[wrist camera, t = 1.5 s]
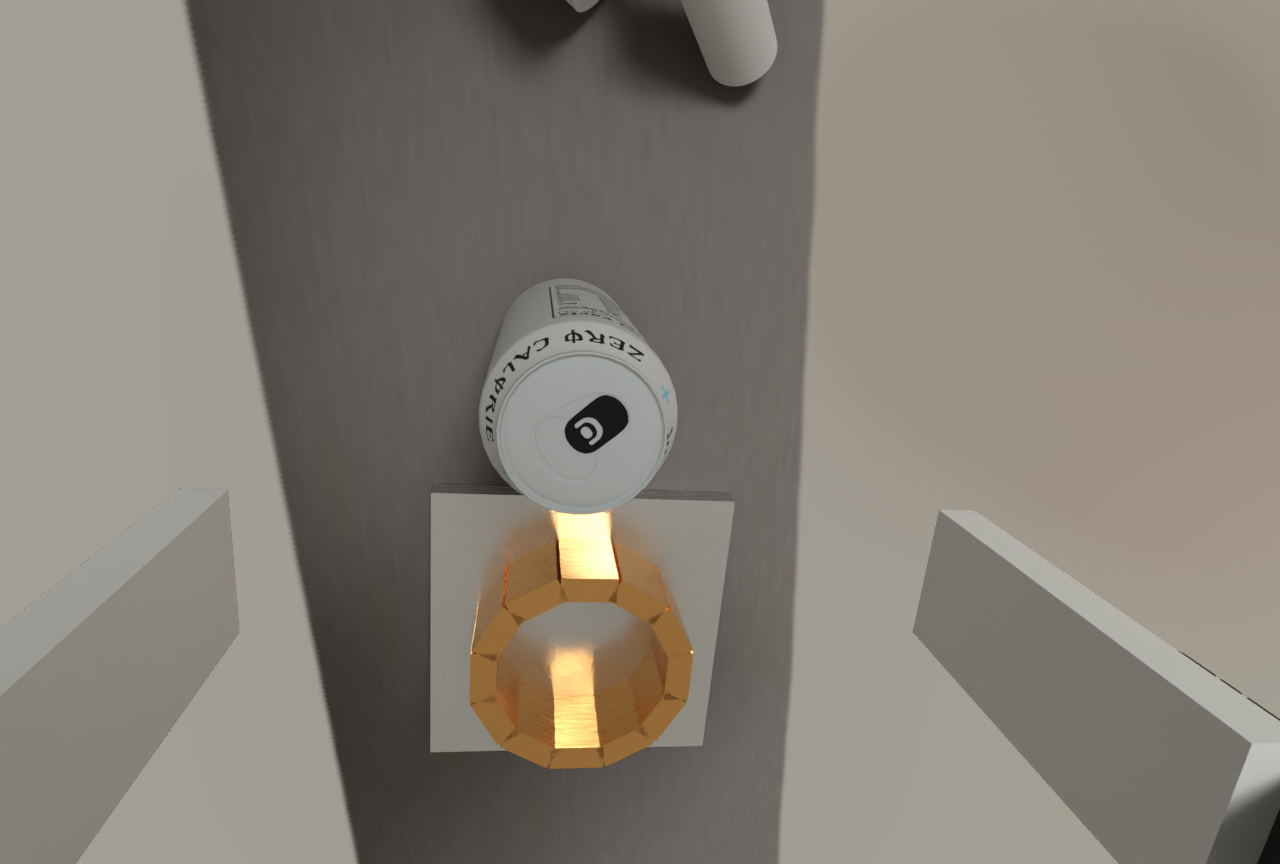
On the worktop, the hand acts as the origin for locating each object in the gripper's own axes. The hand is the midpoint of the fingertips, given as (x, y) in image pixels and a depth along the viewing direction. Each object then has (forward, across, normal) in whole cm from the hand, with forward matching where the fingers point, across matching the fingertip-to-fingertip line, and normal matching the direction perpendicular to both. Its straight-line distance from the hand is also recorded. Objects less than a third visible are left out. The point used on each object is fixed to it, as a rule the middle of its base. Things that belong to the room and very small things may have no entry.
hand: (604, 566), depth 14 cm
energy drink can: (+22, 0, 0) cm, 23 cm away
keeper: (+22, +2, -15) cm, 27 cm away
